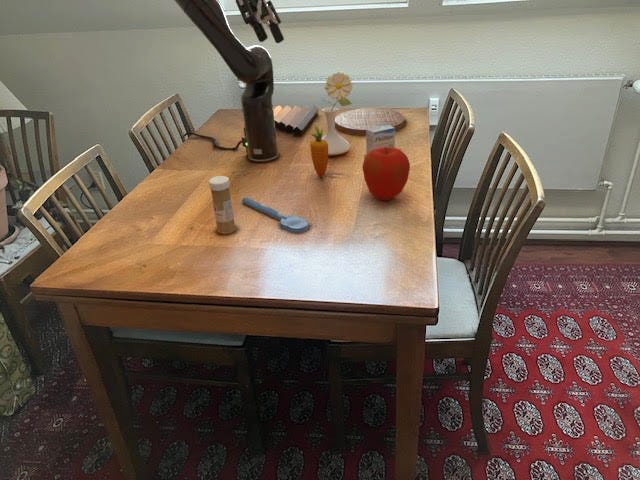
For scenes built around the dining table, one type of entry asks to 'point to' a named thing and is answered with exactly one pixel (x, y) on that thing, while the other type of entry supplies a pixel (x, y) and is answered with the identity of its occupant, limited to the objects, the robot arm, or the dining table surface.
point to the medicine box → (380, 137)
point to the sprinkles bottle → (222, 204)
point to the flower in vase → (338, 89)
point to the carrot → (319, 153)
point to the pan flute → (294, 118)
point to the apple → (386, 172)
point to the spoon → (280, 217)
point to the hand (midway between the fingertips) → (272, 41)
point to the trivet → (368, 120)
